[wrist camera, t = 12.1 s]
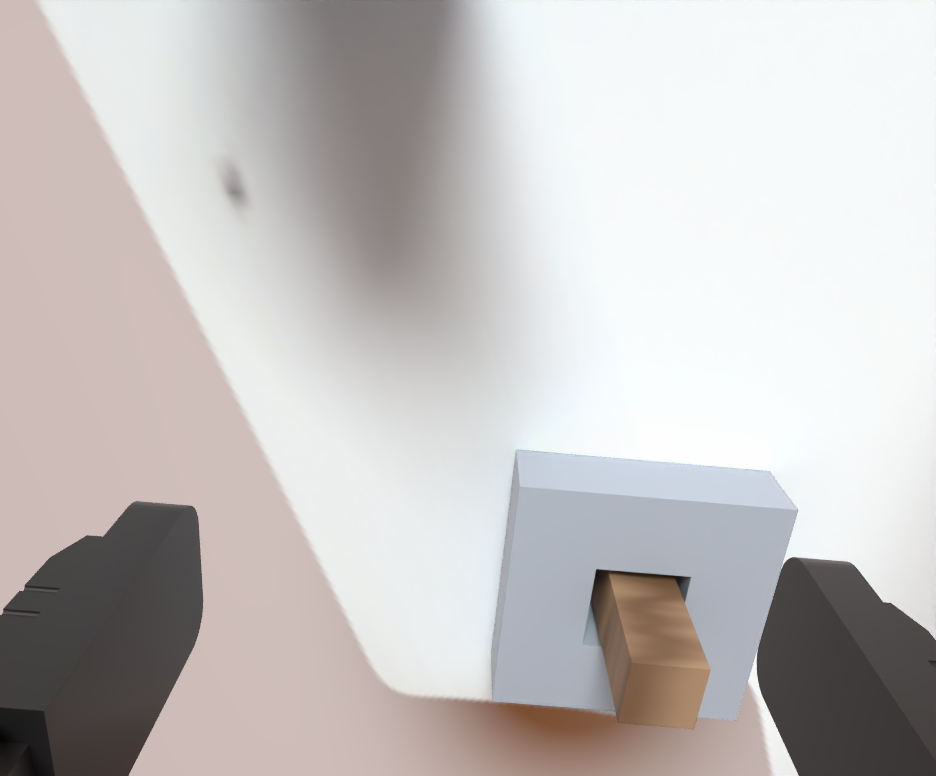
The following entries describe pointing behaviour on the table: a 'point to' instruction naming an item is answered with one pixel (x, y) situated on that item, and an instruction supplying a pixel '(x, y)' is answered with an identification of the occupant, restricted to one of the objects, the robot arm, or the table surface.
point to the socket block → (632, 569)
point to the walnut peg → (649, 649)
